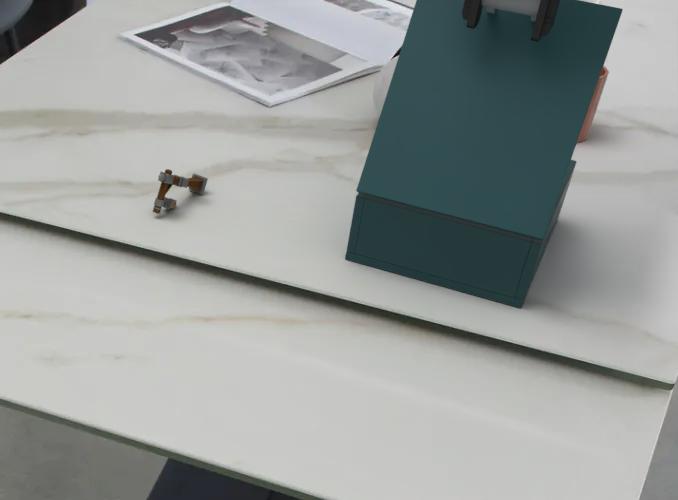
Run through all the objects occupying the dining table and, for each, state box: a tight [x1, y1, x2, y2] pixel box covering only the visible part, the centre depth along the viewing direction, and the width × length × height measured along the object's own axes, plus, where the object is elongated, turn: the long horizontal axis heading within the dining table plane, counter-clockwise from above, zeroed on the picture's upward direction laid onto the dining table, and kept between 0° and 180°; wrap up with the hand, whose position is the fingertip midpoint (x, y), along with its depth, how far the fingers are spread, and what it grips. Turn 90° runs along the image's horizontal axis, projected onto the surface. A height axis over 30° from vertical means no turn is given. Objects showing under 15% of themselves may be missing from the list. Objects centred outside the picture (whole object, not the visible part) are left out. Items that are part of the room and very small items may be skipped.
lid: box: [356, 0, 623, 240], centre depth 92 cm, size 21×18×5 cm
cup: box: [577, 65, 610, 143], centre depth 127 cm, size 7×7×8 cm
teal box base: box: [344, 159, 577, 309], centre depth 105 cm, size 20×18×7 cm
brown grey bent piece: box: [152, 168, 209, 215], centre depth 108 cm, size 2×8×4 cm, turn 145°
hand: (504, 31), depth 91 cm, fingers closed on lid, 5 cm apart
